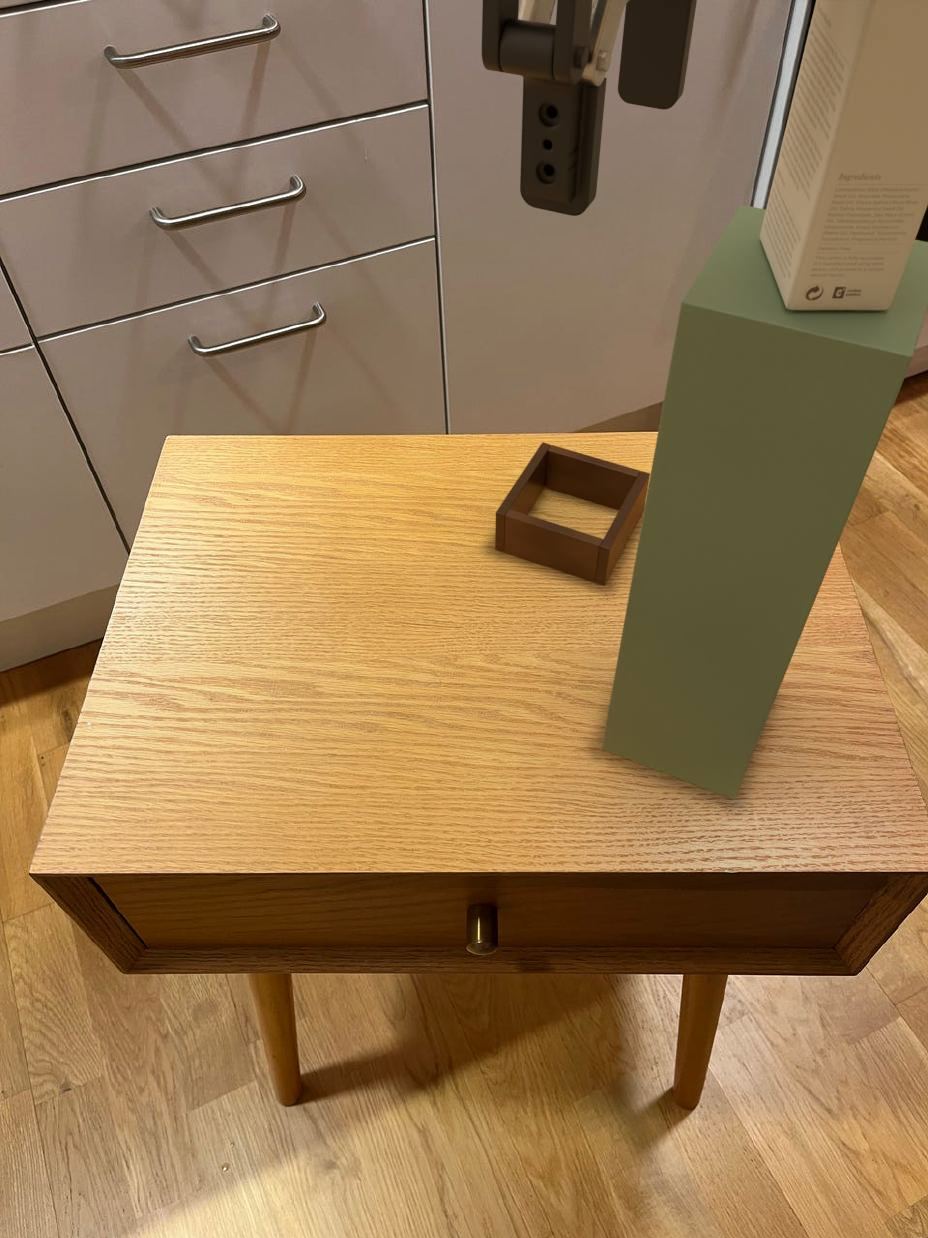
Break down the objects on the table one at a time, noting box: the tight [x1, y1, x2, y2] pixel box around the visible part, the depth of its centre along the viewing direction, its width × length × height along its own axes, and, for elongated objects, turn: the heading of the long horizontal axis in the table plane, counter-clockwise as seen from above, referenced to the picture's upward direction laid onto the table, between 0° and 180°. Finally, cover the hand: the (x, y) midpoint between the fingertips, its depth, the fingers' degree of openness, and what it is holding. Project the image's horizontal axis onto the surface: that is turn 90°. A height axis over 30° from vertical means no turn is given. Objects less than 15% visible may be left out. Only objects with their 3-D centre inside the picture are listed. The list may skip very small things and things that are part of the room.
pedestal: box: [601, 204, 928, 800], centre depth 52 cm, size 9×9×33 cm
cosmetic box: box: [760, 0, 928, 310], centre depth 35 cm, size 6×4×12 cm
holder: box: [494, 441, 651, 586], centre depth 76 cm, size 9×9×4 cm
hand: (606, 150), depth 32 cm, fingers open, 8 cm apart
